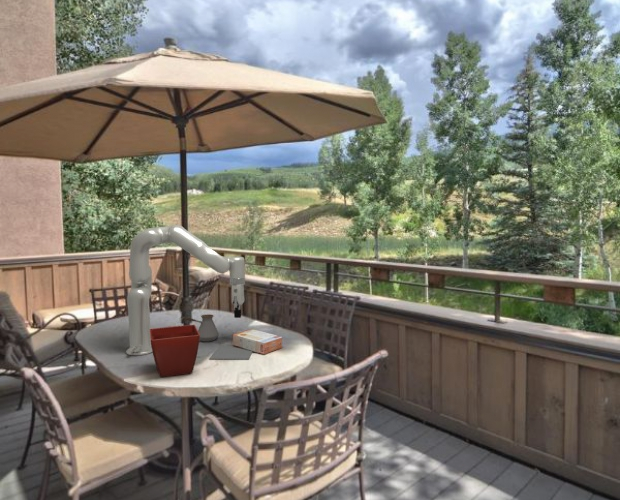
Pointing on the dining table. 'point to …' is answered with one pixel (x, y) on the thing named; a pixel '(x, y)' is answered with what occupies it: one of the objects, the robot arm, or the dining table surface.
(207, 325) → the coffee pot
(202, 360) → the dining table surface
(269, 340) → the cracker box
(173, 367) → the plant pot
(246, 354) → the mat
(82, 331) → the dining table surface
